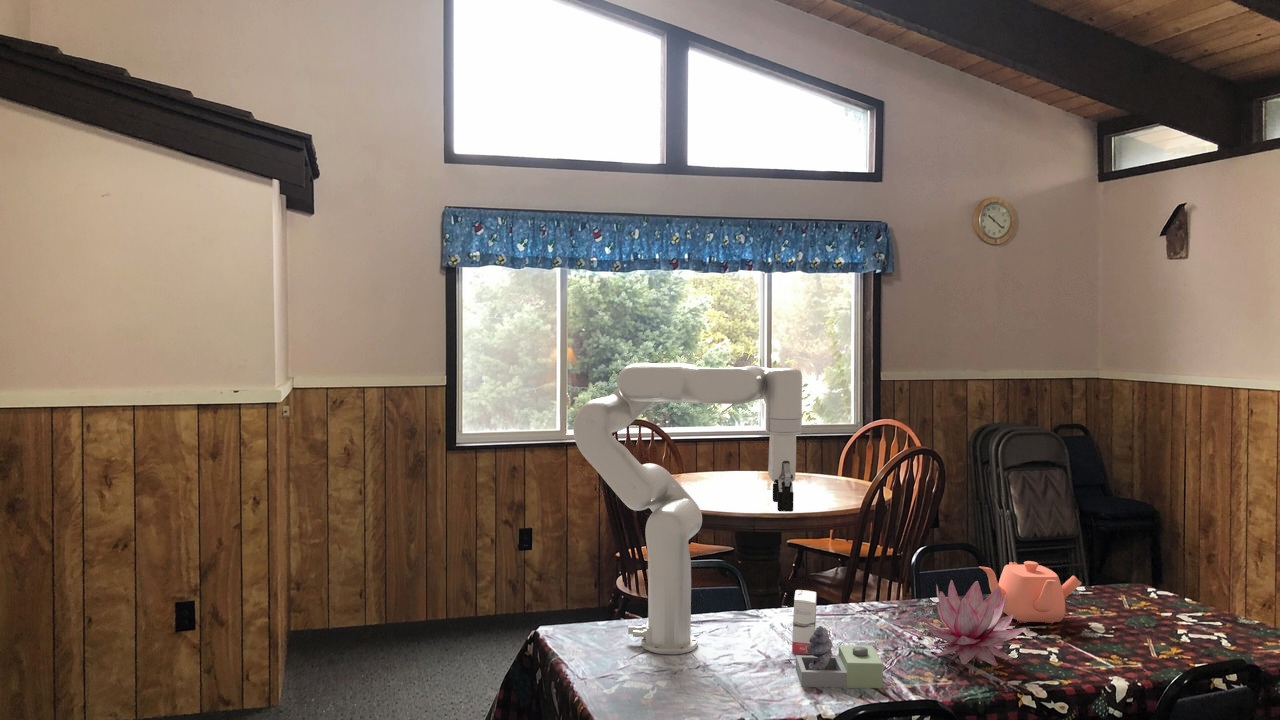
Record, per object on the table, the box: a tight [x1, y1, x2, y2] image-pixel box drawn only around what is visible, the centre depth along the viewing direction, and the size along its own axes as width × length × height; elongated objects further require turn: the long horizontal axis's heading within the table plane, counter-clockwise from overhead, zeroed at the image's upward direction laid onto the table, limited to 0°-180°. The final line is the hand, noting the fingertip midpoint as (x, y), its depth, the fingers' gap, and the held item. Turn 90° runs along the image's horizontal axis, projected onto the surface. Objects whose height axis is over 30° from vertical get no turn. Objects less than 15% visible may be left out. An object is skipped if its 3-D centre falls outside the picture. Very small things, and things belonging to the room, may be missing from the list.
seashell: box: [807, 625, 833, 670], centre depth 190 cm, size 5×5×10 cm
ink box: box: [791, 589, 817, 655], centre depth 206 cm, size 9×5×12 cm, turn 168°
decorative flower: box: [916, 579, 1027, 666], centre depth 201 cm, size 21×21×15 cm
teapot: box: [978, 560, 1082, 624], centre depth 227 cm, size 18×18×14 cm
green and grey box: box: [795, 644, 884, 689], centre depth 189 cm, size 16×10×6 cm, turn 88°
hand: (782, 506), depth 197 cm, fingers open, 9 cm apart
